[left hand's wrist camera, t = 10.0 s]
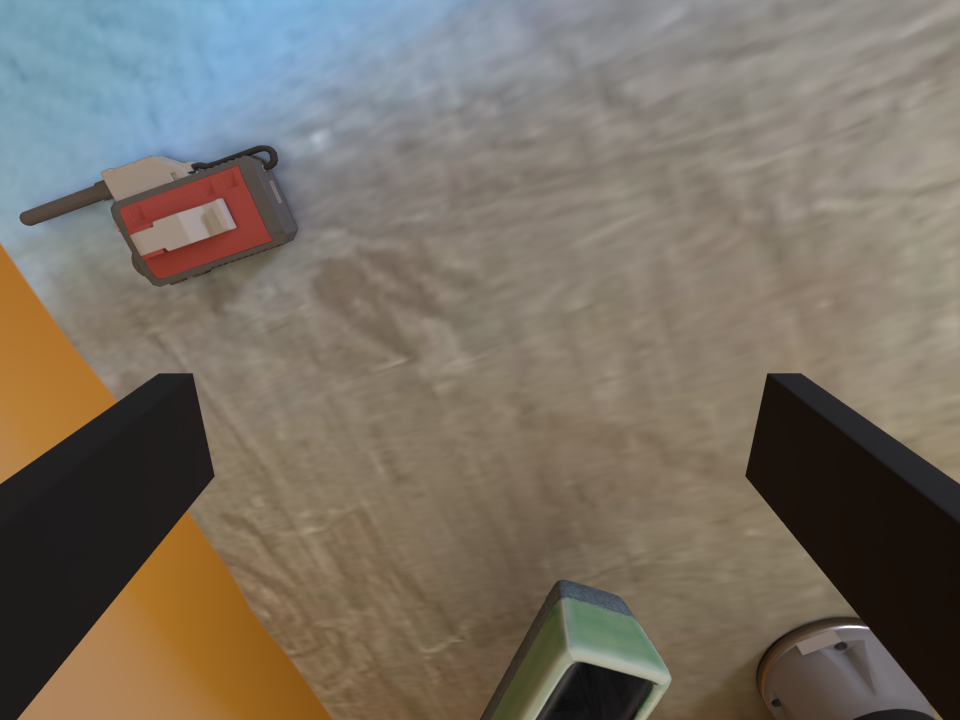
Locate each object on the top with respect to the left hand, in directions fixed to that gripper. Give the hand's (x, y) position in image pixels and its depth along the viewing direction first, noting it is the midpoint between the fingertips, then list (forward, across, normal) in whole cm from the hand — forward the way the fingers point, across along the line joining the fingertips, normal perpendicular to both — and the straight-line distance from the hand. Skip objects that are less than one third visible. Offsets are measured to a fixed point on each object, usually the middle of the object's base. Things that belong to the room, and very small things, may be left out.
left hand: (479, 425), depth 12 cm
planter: (+18, +4, -35) cm, 39 cm away
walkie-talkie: (+31, -24, +1) cm, 39 cm away
